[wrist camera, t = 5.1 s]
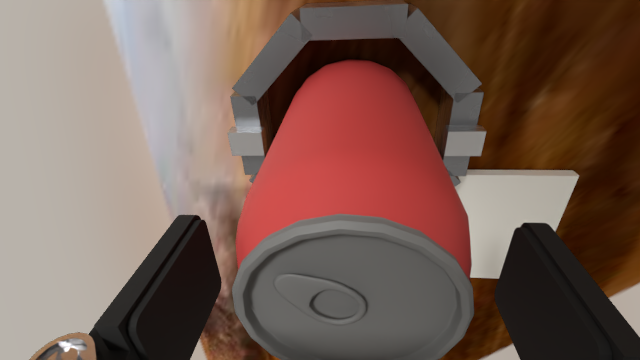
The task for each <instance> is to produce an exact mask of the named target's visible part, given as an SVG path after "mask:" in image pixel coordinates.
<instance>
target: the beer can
mask: <svg viewBox="0 0 640 360" xmlns="http://www.w3.org/2000/svg"><path fill="white" fill-rule="evenodd" d="M236 252H237V262H238V273H237V276H236V279H235V282H234V285H233V288H232V293H233V300H234V306H235V313H236V315H237V316H238V318H239V319H240V321H241V323H242V324H243V326H244V327H245V329H246V331H247V332H248V334H249V335H250V336H251V338H253V339H254V340H255V341H256V342H257V343H258V344H260V345H261V346H262V347H263V348H264V349H266V350H267V351H268V352H269V353H270V354H271V355H273V356H275V357H277V358H279V359H281V360H438V359H440V358H442V357H443V356H444V355H445V354H446V353H447V352H448V351H449V350H450V349H451V348H452V347H453V346H455V345H456V344H457V343H458V342H459V341H460V340H461V339H462V338H463V337H464V335H465V333H466V331H467V328H468V326H469V324H470V322H471V320H472V317H473V315H474V302H473V287H472V285H471V282H470V274H471V267H472V260H471V244H470V231H469V220H468V215H467V213H466V211H465V208H464V206H463V204H462V202H461V200H460V198H459V195H458V193H457V191H456V189H455V187H454V184H453V182H452V180H451V178H450V176H449V173H448V171H447V169H446V167H445V165H444V162H443V160H442V158H441V156H440V154H439V152H438V149H437V147H436V145H435V143H434V141H433V138H432V136H431V134H430V132H429V130H428V127H427V125H426V123H425V121H424V119H423V117H422V114H421V112H420V110H419V108H418V106H417V103H416V101H415V99H414V97H413V95H412V94H411V92H410V90H409V88H408V86H407V84H406V83H405V82H404V81H403V80H402V79H401V78H400V77H399V76H398V75H397V74H395V73H394V72H393V71H392V70H391V69H390V68H387V67H385V66H382V65H380V64H378V63H375V62H373V61H370V60H356V59H346V60H342V61H338V62H335V63H331V64H327V65H325V66H324V67H322V68H321V69H319V70H318V71H316V72H315V73H313V74H312V75H310V76H309V77H308V78H307V79H306V80H305V82H304V83H303V84H302V86H301V87H300V88H299V90H298V91H297V92H296V94H295V96H294V98H293V100H292V102H291V104H290V107H289V109H288V111H287V113H286V115H285V117H284V119H283V121H282V123H281V125H280V128H279V130H278V132H277V134H276V136H275V138H274V140H273V142H272V144H271V146H270V149H269V151H268V153H267V155H266V157H265V159H264V161H263V163H262V165H261V167H260V170H259V172H258V174H257V176H256V178H255V180H254V182H253V184H252V186H251V188H250V191H249V193H248V195H247V197H246V200H245V203H244V206H243V210H242V213H241V216H240V219H239V223H238V228H237V236H236Z"/></svg>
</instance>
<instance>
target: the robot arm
mask: <svg viewBox="0 0 640 360" xmlns="http://www.w3.org/2000/svg"><path fill="white" fill-rule="evenodd" d="M220 290H221V277H220V273H219V270H218V266H217V262H216V258H215V255H214V251H213V247H212V243H211V240H210V236H209V232H208V229H207V225H206V222H205V221H204V220H201V218H200V217H199V216H198V215H179V216H178V217H177V218H176V219H175V220H174V222H173V223H172V224H171V226H170V227H169V228H168V230H167V231H166V232H165V234H164V235H163V236H162V237H161V239H160V240H159V241H158V243H157V244H156V245H155V247H154V248H153V249H152V251H151V252H150V253H149V254H148V256H147V257H146V259H145V260H144V261H143V262H142V264H141V265H140V266H139V268H138V269H137V270H136V271H135V273H134V274H133V275H132V277H131V278H130V279H129V281H128V282H127V283H126V285H125V286H124V287H123V288H122V290H121V291H120V292H119V294H118V295H117V296H116V298H115V299H114V300H113V302H112V303H111V304H110V306H109V307H108V308H107V309H106V311H105V312H104V313H103V315H102V316H101V317H100V319H99V320H98V321H97V323H96V324H95V325H94V328H93V329H92V330H91V332H90V333H89V334H86V333H80V332H78V333H71V334H67V335H64V336H61V337H59V338H57V339H55V340H53V341H51V342H49V343H48V344H46V345H45V346H44V347H42V348H41V349H40V350H38V351H37V352H36V353H35V354H34V355H33V356H32V357H31V358H30V359H29V360H190V358H191V356H192V354H193V351H194V349H195V347H196V345H197V342H198V340H199V338H200V336H201V333H202V331H203V329H204V327H205V324H206V322H207V320H208V317H209V315H210V313H211V311H212V308H213V306H214V304H215V302H216V299H217V297H218V295H219V292H220ZM495 302H496V305H497V307H498V309H499V312H500V314H501V316H502V319H503V321H504V323H505V325H506V328H507V330H508V332H509V335H510V337H511V339H512V341H513V344H514V346H515V348H516V350H517V353H518V355H519V357H520V359H521V360H640V337H639V336H638V335H637V334H636V332H635V331H634V330H633V329H632V327H631V326H630V325H629V324H628V322H627V321H626V320H625V319H624V317H623V316H622V315H621V314H620V312H619V311H618V310H617V309H616V307H615V306H614V305H613V304H612V302H611V301H610V300H609V299H608V297H607V296H606V295H605V294H604V292H603V291H602V290H601V289H600V287H599V286H598V285H597V284H596V282H595V281H594V280H593V279H592V277H591V276H590V275H589V274H588V272H587V271H586V270H585V269H584V267H583V266H582V265H581V264H580V262H579V261H578V260H577V259H576V257H575V256H574V255H573V254H572V252H571V251H570V250H569V249H568V247H567V246H566V245H565V244H564V242H563V241H562V240H561V239H560V237H559V236H558V235H557V234H556V232H555V231H554V230H553V229H552V227H551V226H550V225H549V224H547V223H528V222H525V223H523V224H522V225H521V227H517V228H516V229H515V230H514V233H513V236H512V239H511V242H510V245H509V249H508V252H507V255H506V258H505V261H504V264H503V267H502V270H501V274H500V277H499V280H498V283H497V286H496V289H495Z"/></svg>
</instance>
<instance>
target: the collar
mask: <svg viewBox="0 0 640 360" xmlns="http://www.w3.org/2000/svg"><path fill="white" fill-rule="evenodd" d="M374 38H399V39H400V40H401V41H402V42H403V43H404V44H405V46H406V47H407V48H408V49H409V50H410V51H411V52H412V53H413V54H414V56H415V57H416V58H417V59H418V60H419V61H420V62H421V63H422V64H423V66H424V67H425V68H426V69H427V70H428V71H429V72H430V73H431V74H432V76H433V77H434V78H435V79H436V80H437V81H438V82H439V83H440V84H441V85H442V92H441V99H440V106H439V112H438V119H437V126H436V132H435V139H434V143H435V145H436V147H437V149H438V152H439V154H440V156H441V158H442V160H443V162H444V165H445V167H446V169H447V171H448V173H449V176H450V178H451V180H452V182H453V184H454V187H455V186H457V185H458V184H460V183H461V181H460V179H459V177H458V176H466V172H467V168H468V163H469V159H470V156H481V153H482V149H483V144H484V140H485V136H486V132H487V131H486V130H485V129H484V128H483V127H482V125H477V122H478V117H479V113H480V108H481V104H482V99H483V95H484V92H483V91H482V90H481V89H480V88H479V86H480V85H481V84H482V83H481V82H480V81H479V80H478V78H477V77H476V76H475V75H474V74H473V73H472V71H471V70H470V69H469V68H468V67H467V65H466V64H465V63H464V62H463V61H462V60H461V58H460V57H459V56H458V55H457V54H456V52H455V51H454V50H453V49H452V48H451V47H450V45H449V44H448V43H447V42H446V41H445V39H444V38H443V37H442V36H441V35H440V34H439V32H438V31H437V30H436V29H435V28H434V26H433V25H432V24H431V23H430V22H429V21H428V19H427V18H426V17H425V16H424V15H423V13H422V12H421V11H420V10H419V9H418V8H417V7H415V6H414V5H412V4H411V3H409V5H408V3H406V2H405V1H403V0H377V1H354V2H331V3H307V4H305V5H304V6H302V7H301V8H300V9H299V8H297V9H296V10H294V11H293V12H292V13H290V15H289V16H288V17H287V18H286V20H285V21H284V22H283V24H282V25H281V26H280V27H279V29H278V30H277V31H276V33H275V34H274V35H273V36H272V38H271V39H270V40H269V42H268V43H267V44H266V45H265V47H264V48H263V49H262V51H261V52H260V53H259V54H258V56H257V57H256V58H255V60H254V61H253V62H252V63H251V65H250V66H249V67H248V69H247V70H246V71H245V72H244V74H243V75H242V76H241V78H240V79H239V80H238V81H237V83H236V84H235V85H234V87H233V88H232V89H233V90H235V92H234V93H233V94H232V95H231V96H230V97H231V103H232V108H233V113H234V118H235V124H236V127H232V128H231V129H230V130H229V132H228V138H229V143H230V147H231V152H232V156H242V160H243V166H244V171H245V175H252V176H251V178H250V180H249V181H250V182H252V183H253V182H254V180H255V178H256V176H257V174H258V172H259V170H260V167H261V165H262V163H263V161H264V159H265V157H266V155H267V153H268V151H269V149H270V146H271V144H272V142H273V140H274V137H273V129H272V121H271V114H270V106H269V98H268V90H267V89H268V88H269V87H270V86H271V84H272V83H273V82H274V81H275V80H276V78H277V77H278V76H279V75H280V74H281V73H282V71H283V70H284V69H285V68H286V67H287V65H288V64H289V63H290V62H291V61H292V60H293V58H294V57H295V56H296V55H297V54H298V52H299V51H300V50H301V49H302V48H303V47H304V45H305V44H306V43H307V42H308V41H311V40H342V39H374Z"/></svg>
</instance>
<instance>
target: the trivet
mask: <svg viewBox="0 0 640 360" xmlns="http://www.w3.org/2000/svg"><path fill="white" fill-rule="evenodd" d="M458 177H459V179H460V181H461V183H460V184H458V185H457V186H455V189H456V191H457V193H458V195H459V198H460V200H461V202H462V204H463V206H464V208H465V211H466V213H467V215H468V220H469V231H470V244H471V260H472V267H471V274H470V278H498V279H499V277H500V274H501V270H502V267H503V264H504V261H505V258H506V255H507V252H508V249H509V245H510V242H511V239H512V236H513V233H514V230H515V229H516V228H517V227H521V225H522V224H523V223H525V222H528V223H547V224H549V225H550V226H551V227H552V229H553V230H554V231H556V229H557V227H558V224H559V222H560V220H561V217H562V215H563V213H564V210H565V208H566V206H567V203H568V201H569V199H570V196H571V194H572V192H573V189H574V187H575V185H576V182H577V180H578V178H579V175H578V174H577V173H576V172H575V171H573V170H467V172H466V176H458Z"/></svg>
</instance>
